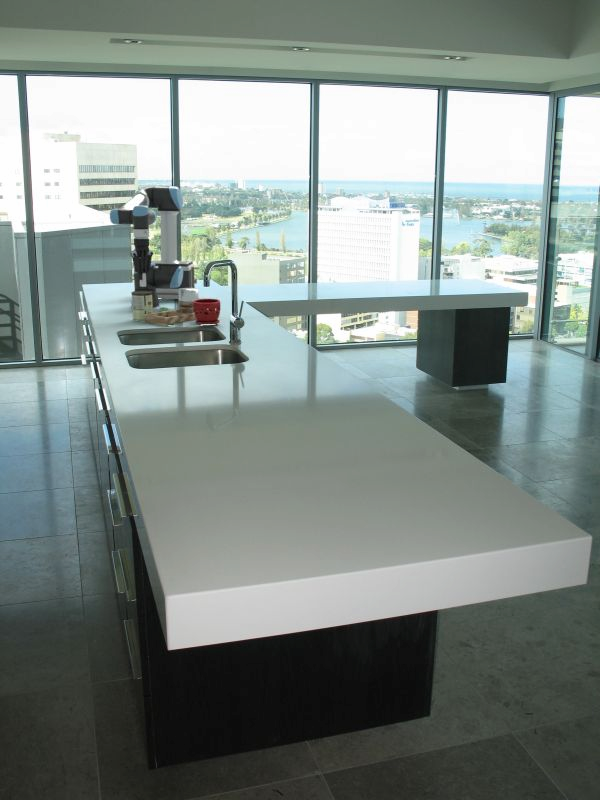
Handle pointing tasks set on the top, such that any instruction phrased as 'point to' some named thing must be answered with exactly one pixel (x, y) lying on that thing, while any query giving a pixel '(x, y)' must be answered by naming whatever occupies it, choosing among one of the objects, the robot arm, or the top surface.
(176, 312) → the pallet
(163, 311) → the button
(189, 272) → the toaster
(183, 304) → the canister
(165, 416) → the top surface
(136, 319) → the coffee can
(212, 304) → the plant pot
